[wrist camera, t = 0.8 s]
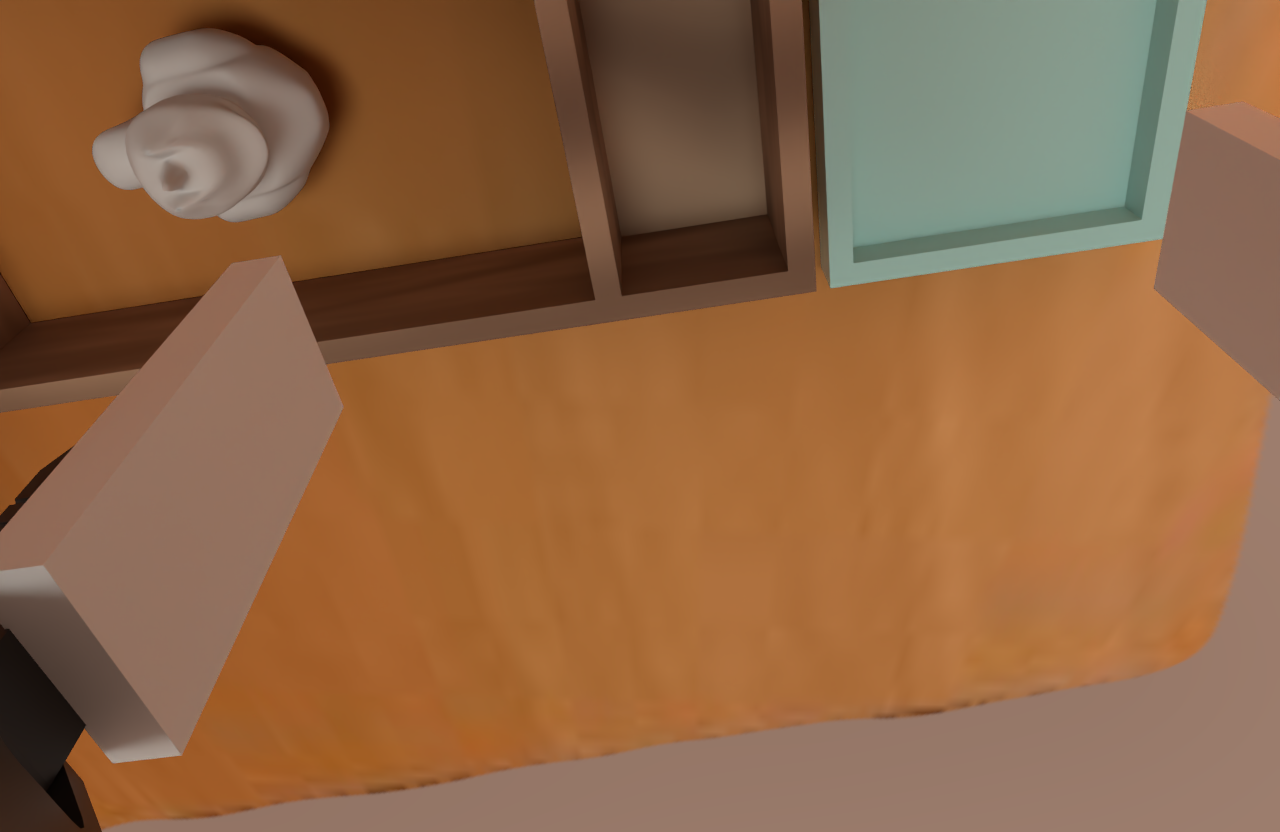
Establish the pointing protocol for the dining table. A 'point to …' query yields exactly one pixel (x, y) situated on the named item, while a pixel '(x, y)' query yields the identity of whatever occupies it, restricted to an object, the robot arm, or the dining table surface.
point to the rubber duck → (217, 128)
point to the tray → (994, 128)
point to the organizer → (604, 195)
